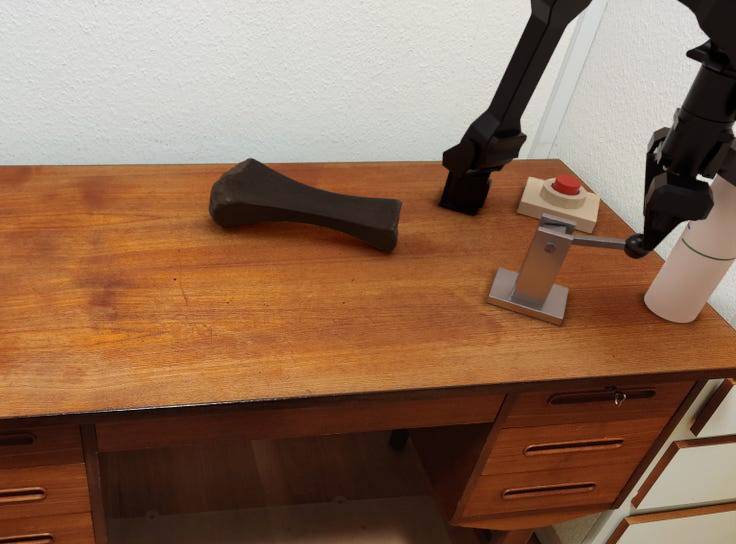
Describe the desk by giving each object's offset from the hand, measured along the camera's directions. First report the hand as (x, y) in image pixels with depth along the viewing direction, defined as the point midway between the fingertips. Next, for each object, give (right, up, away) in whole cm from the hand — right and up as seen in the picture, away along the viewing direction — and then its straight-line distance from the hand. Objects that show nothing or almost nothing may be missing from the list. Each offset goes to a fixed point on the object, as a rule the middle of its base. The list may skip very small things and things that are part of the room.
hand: (646, 232), depth 91 cm
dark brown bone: (-42, +4, +19) cm, 46 cm away
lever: (-6, -2, +3) cm, 7 cm away
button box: (+1, +9, +30) cm, 32 cm away
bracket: (-11, -7, +10) cm, 17 cm away
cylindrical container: (+10, -9, +12) cm, 17 cm away
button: (+2, +12, +28) cm, 30 cm away
